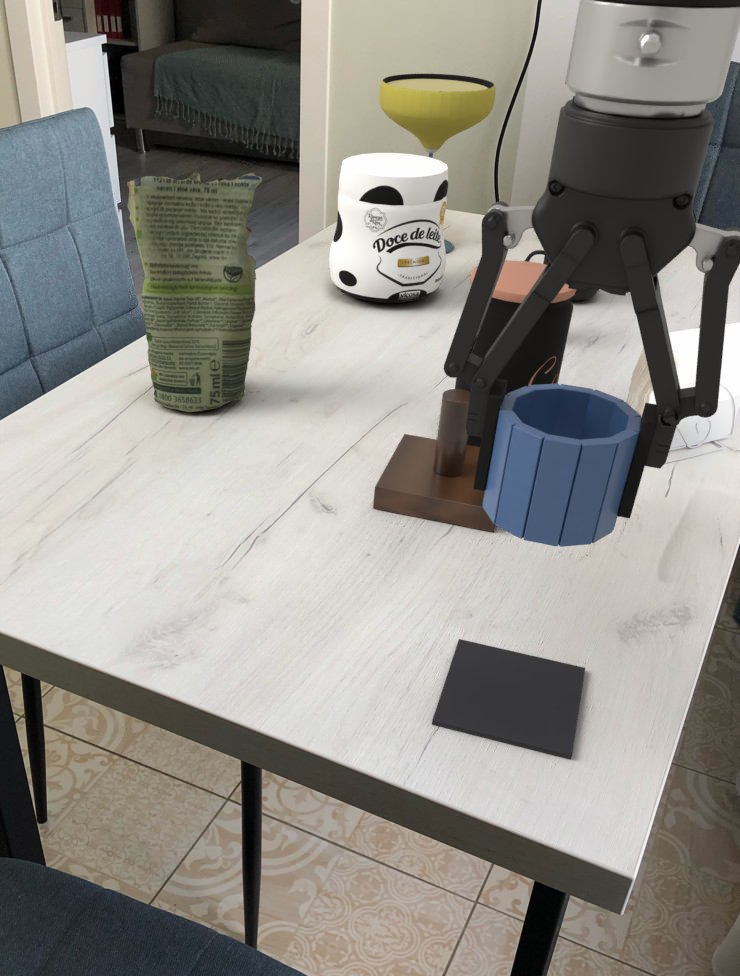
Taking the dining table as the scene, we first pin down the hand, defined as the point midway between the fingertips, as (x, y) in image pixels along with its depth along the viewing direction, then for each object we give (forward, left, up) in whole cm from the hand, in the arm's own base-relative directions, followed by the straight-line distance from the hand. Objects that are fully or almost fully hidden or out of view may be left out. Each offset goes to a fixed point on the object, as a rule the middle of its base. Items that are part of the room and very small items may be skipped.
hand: (552, 493), depth 61 cm
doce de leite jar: (+32, -84, -18) cm, 91 cm away
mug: (+7, -93, -18) cm, 95 cm away
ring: (0, 0, -1) cm, 1 cm away
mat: (0, 0, -18) cm, 18 cm away
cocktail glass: (+32, -109, -18) cm, 115 cm away
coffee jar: (+8, -42, -18) cm, 46 cm away
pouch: (+43, -40, -18) cm, 61 cm away
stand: (+11, -28, -18) cm, 35 cm away
